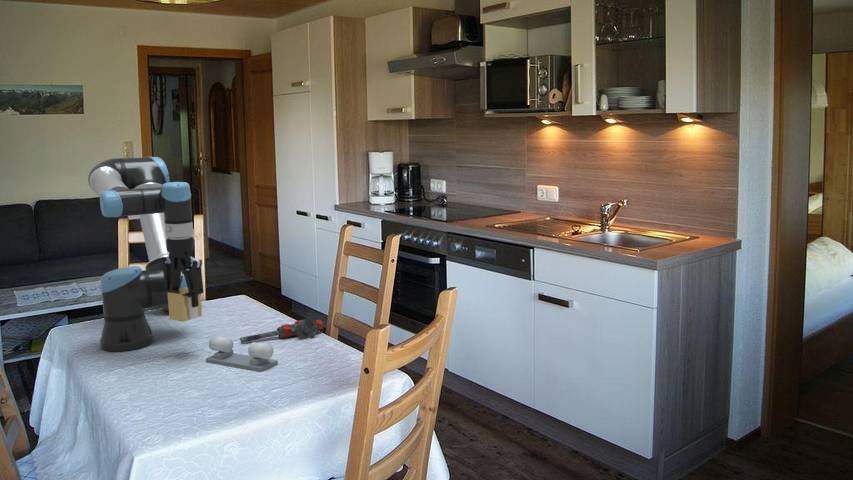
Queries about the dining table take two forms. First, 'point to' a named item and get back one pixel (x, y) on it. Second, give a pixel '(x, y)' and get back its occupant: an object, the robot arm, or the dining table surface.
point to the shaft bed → (255, 361)
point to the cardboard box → (180, 305)
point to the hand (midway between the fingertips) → (185, 316)
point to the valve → (291, 330)
